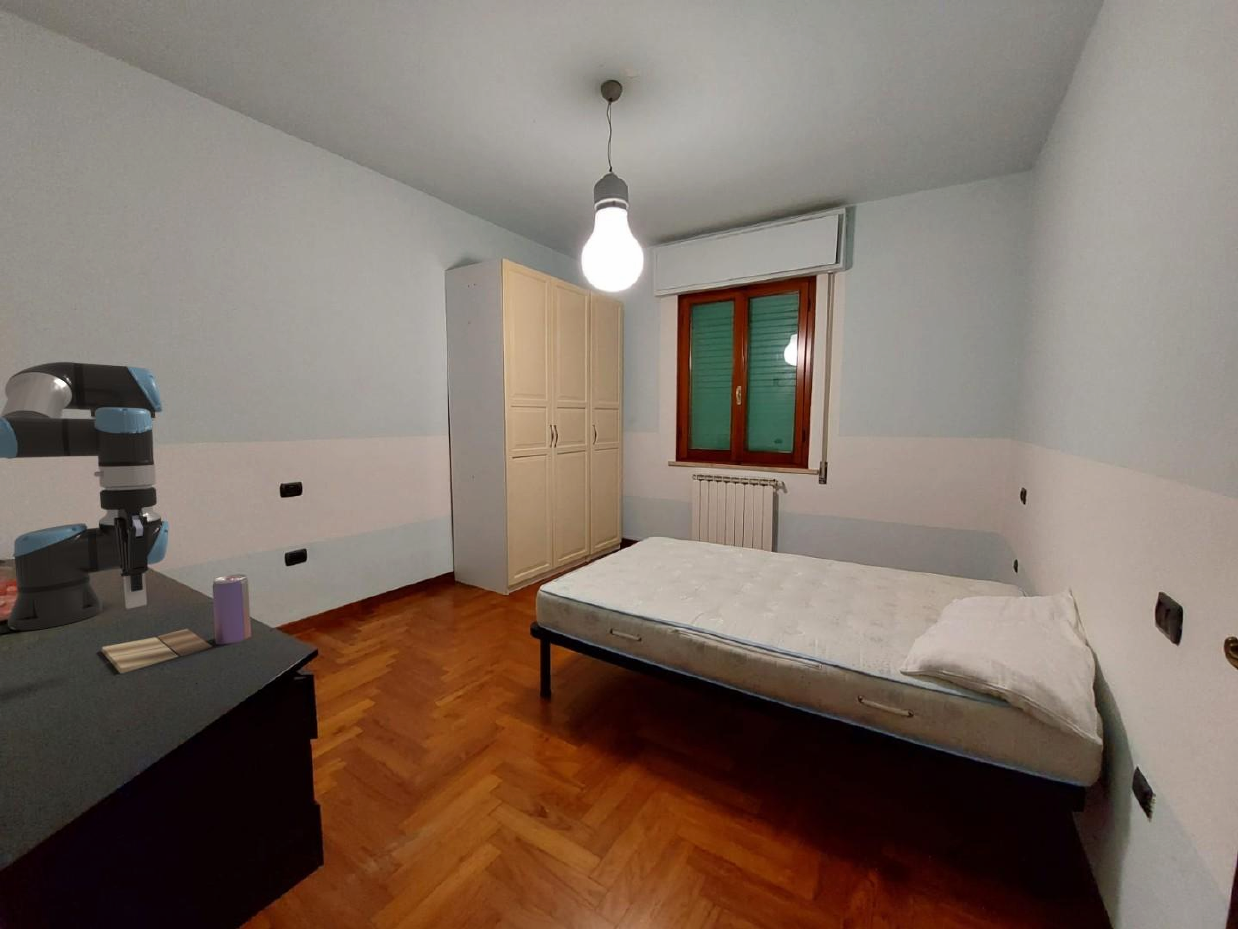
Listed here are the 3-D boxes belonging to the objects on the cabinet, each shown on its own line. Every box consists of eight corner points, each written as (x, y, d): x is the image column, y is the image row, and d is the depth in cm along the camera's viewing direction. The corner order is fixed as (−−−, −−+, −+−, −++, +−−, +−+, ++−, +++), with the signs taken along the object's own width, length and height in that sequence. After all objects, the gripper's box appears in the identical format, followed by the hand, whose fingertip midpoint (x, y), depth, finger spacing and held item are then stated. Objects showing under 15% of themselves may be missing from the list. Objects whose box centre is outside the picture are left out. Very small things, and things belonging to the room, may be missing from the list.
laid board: (157, 643, 103) (157, 636, 103) (187, 634, 107) (187, 628, 107) (181, 663, 93) (180, 656, 93) (213, 653, 97) (212, 646, 97)
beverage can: (231, 652, 98) (227, 583, 97) (208, 649, 99) (204, 581, 98) (258, 640, 104) (254, 574, 103) (236, 638, 105) (233, 573, 104)
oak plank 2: (110, 664, 91) (111, 657, 91) (166, 653, 97) (166, 646, 98) (120, 676, 86) (121, 668, 86) (177, 663, 93) (178, 656, 93)
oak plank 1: (101, 654, 95) (102, 647, 96) (155, 644, 102) (155, 637, 102) (110, 664, 91) (110, 657, 91) (165, 653, 98) (166, 646, 98)
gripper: (92, 487, 90) (100, 605, 92) (107, 491, 83) (116, 619, 84) (146, 483, 96) (153, 594, 98) (164, 487, 89) (172, 606, 91)
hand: (136, 605), depth 91 cm, fingers closed
